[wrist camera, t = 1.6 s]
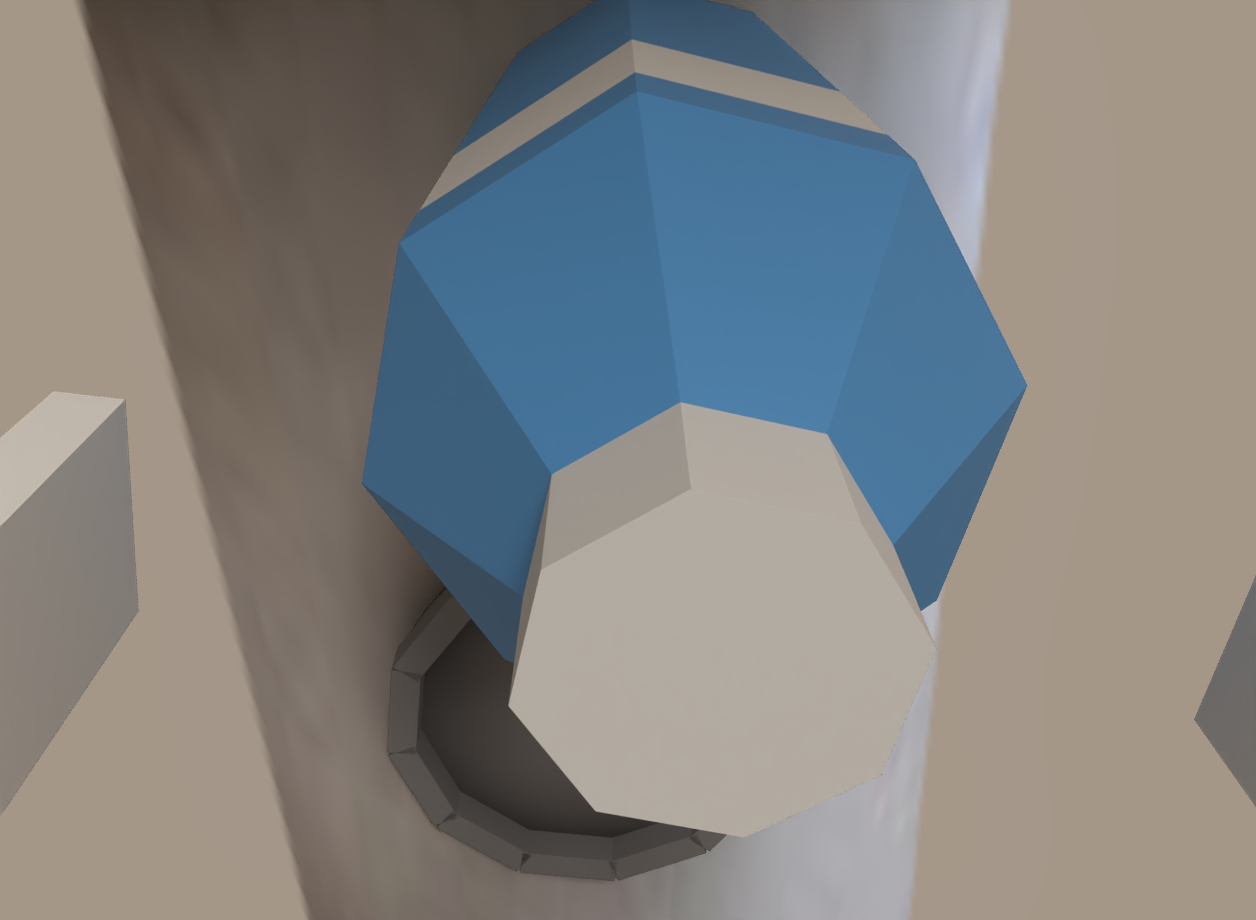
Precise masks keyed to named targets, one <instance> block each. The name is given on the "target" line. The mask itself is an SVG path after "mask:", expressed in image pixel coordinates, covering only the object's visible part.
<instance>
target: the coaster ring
mask: <svg viewBox="0 0 1256 920" xmlns="http://www.w3.org/2000/svg"><path fill="white" fill-rule="evenodd" d="M513 668H514V663H513V662H510V661H508V660H505V659H504V658H503V657H502V656H501V654H500V653H499V652H498V651H497V650H496V648H495V647H494V646H493V645H492V643H491V642H490V641H489V640H488V638H487V637H486V636H485V635H484V633H483V632H482V631H481V630H480V629H479V627H478V626H477V625H476V624H475V622H474V621H473V620H472V619H471V617H470V616H469V615H468V614H467V612H466V611H465V610H464V609H463V608H462V606H461V605H460V604H459V603H458V601H457V600H456V599H455V598H454V596H453V595H452V594H451V593H450V591H449V590H448V589H447V588H446V589H444V590H443V591H442V593H441V594H440V595H439V596H438V597H437V598H436V599H435V600H434V601H433V602H432V603H431V604H430V605H429V606H428V608H427V609H426V611H425V612H424V613H423V615H422V616H421V618H420V619H419V621H418V622H417V623H416V625H415V627H414V629H413V630H412V631H411V633H410V634H409V635H408V636H407V637H406V639H405V640H404V641H403V642H402V643H401V645H400V646H399V648H398V650H397V654H396V657H395V661H394V664H393V668H392V674H391V693H390V713H389V733H388V752H389V757H390V759H391V760H392V762H393V763H394V765H395V766H396V768H397V769H398V771H399V772H400V774H401V776H402V777H403V779H404V780H405V782H406V783H407V785H408V786H409V788H410V789H411V791H412V793H413V794H414V796H415V797H416V799H417V800H418V802H419V803H420V805H421V806H422V808H423V809H424V811H425V813H426V814H427V816H428V817H429V819H430V820H431V822H432V823H433V825H434V826H435V825H437V829H439V830H441V831H443V832H445V833H447V834H449V835H450V836H452V837H454V838H456V839H458V840H460V841H461V842H463V843H465V844H467V845H469V846H471V847H472V848H474V849H476V850H478V851H480V852H482V853H484V854H485V855H487V856H489V857H491V858H493V859H495V860H496V861H498V862H500V863H502V864H504V865H506V866H507V867H509V868H511V869H513V870H515V871H517V870H518V869H519V868H520V872H521V873H532V874H543V875H554V876H565V877H576V878H587V879H598V880H609V881H614V879H615V876H616V878H617V880H621V879H625V878H628V877H631V876H634V875H637V874H641V873H644V872H647V871H650V870H653V869H657V868H660V867H663V866H666V865H669V864H673V863H676V862H679V861H682V860H686V859H689V858H692V857H695V856H698V855H702V854H705V853H706V850H708V851H710V850H711V849H712V848H713V847H714V846H716V845H717V844H718V843H719V842H720V841H721V840H722V839H723V838H724V837H725V836H726V835H727V834H722V833H716V832H710V831H705V830H699V829H693V828H688V827H682V826H676V825H670V824H665V823H659V822H653V821H648V820H642V819H636V818H631V817H625V816H619V815H614V814H608V813H602V812H597V811H595V810H594V809H593V808H592V806H591V805H590V804H589V803H588V802H587V800H586V799H585V798H584V797H583V796H582V794H581V793H580V792H579V791H578V789H577V788H576V787H575V786H574V785H573V783H572V782H571V781H570V780H569V779H568V777H567V776H566V775H565V774H564V773H563V771H562V770H561V769H560V768H559V766H558V765H557V764H556V763H555V762H554V760H553V759H552V758H551V757H550V756H549V754H548V753H547V752H546V751H545V750H544V748H543V747H542V746H541V745H540V743H539V742H538V741H537V740H536V739H535V737H534V736H533V735H532V734H531V733H530V731H529V730H528V729H527V728H526V727H525V725H524V724H523V723H522V722H521V720H520V719H519V718H518V717H517V716H516V714H515V713H514V712H513V711H512V710H511V708H510V707H509V706H508V705H509V697H510V690H511V682H512V675H513Z"/></svg>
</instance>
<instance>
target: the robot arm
mask: <svg viewBox="0 0 1256 920" xmlns="http://www.w3.org/2000/svg"><path fill="white" fill-rule="evenodd" d="M136 581H137V579H136V563H135V547H134V531H133V515H132V500H131V483H130V467H129V451H128V435H127V419H126V404H125V399H117V398H108V397H100V396H91V395H81V394H74V393H64V392H56V391H53V392H52V393H51V394H50V395H48V396H47V397H46V398H45V399H44V400H43V401H42V402H40V403H39V404H38V405H37V406H36V407H35V408H34V409H32V411H30V412H29V413H28V414H27V415H26V416H24V417H23V418H22V419H21V420H20V421H19V422H18V423H16V424H15V425H14V426H13V427H12V428H11V429H10V430H8V431H7V432H6V433H5V434H4V435H3V436H1V437H0V816H1V814H2V813H3V812H4V810H5V808H6V807H7V806H8V804H9V803H10V801H11V800H12V798H13V797H14V795H15V794H16V792H17V791H18V789H19V788H20V786H21V785H22V783H23V782H24V780H25V779H26V777H27V776H28V774H29V773H30V771H31V770H32V769H33V767H34V766H35V764H36V762H37V761H38V760H39V758H40V757H41V755H42V754H43V752H44V751H45V749H46V748H47V746H48V745H49V743H50V742H51V740H52V739H53V737H54V736H55V734H56V733H57V731H58V730H59V728H60V727H61V725H62V724H63V722H64V721H65V719H66V718H67V717H68V715H69V713H70V712H71V711H72V709H73V708H74V706H75V705H76V703H77V702H78V700H79V699H80V697H81V696H82V694H83V693H84V691H85V690H86V688H87V687H88V685H89V684H90V682H91V681H92V679H93V678H94V676H95V675H96V673H97V672H98V670H99V669H100V667H101V666H102V665H103V663H104V661H105V660H106V658H107V657H108V656H109V654H110V653H111V651H112V650H113V648H114V647H115V645H116V644H117V642H118V641H119V639H120V637H121V636H122V635H123V633H124V632H125V630H126V629H127V627H128V626H129V624H130V622H131V621H132V620H133V618H134V617H135V615H136V614H137V612H138V596H137V582H136ZM1195 721H1196V723H1197V724H1198V726H1199V727H1200V728H1201V730H1202V731H1203V733H1204V734H1205V735H1206V737H1207V738H1208V740H1209V741H1210V742H1211V744H1212V745H1213V747H1214V748H1215V750H1216V751H1217V752H1218V754H1219V755H1220V757H1221V758H1222V760H1223V761H1224V762H1225V764H1226V765H1227V767H1228V768H1229V769H1230V771H1231V772H1232V774H1233V775H1234V776H1235V778H1236V779H1237V781H1238V782H1239V784H1240V785H1241V786H1242V788H1243V789H1244V791H1245V792H1246V794H1247V795H1248V796H1249V798H1250V799H1251V801H1252V802H1253V803H1254V805H1255V806H1256V577H1255V579H1254V581H1253V584H1252V586H1251V588H1250V591H1249V593H1248V595H1247V598H1246V600H1245V602H1244V605H1243V607H1242V609H1241V612H1240V614H1239V616H1238V619H1237V621H1236V623H1235V626H1234V628H1233V630H1232V633H1231V635H1230V637H1229V640H1228V642H1227V644H1226V647H1225V649H1224V651H1223V654H1222V656H1221V658H1220V661H1219V663H1218V666H1217V668H1216V670H1215V672H1214V675H1213V677H1212V679H1211V682H1210V684H1209V686H1208V689H1207V691H1206V694H1205V696H1204V698H1203V700H1202V703H1201V705H1200V708H1199V710H1198V712H1197V715H1196V717H1195Z"/></svg>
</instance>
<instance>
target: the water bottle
mask: <svg viewBox="0 0 1256 920" xmlns="http://www.w3.org/2000/svg"><path fill="white" fill-rule="evenodd" d="M1026 387H1027V384H1026V382H1025V380H1024V378H1023V376H1022V374H1021V372H1020V370H1019V368H1018V366H1017V364H1016V362H1015V360H1014V358H1013V356H1012V354H1011V352H1010V350H1009V348H1008V346H1007V344H1006V342H1005V340H1004V338H1003V336H1002V333H1001V331H1000V330H999V328H998V325H997V323H996V321H995V320H994V317H993V316H992V314H991V312H990V310H989V307H988V306H987V304H986V301H985V300H984V297H983V295H982V293H981V291H980V289H979V287H978V285H977V283H976V281H975V279H974V277H973V275H972V273H971V271H970V269H969V267H968V265H967V263H966V261H965V259H964V257H963V255H962V253H961V251H960V249H959V247H958V245H957V243H956V241H955V239H954V237H953V235H952V233H951V231H950V229H949V227H948V225H947V223H946V221H945V219H944V217H943V215H942V213H941V211H940V209H939V207H938V205H937V203H936V201H935V199H934V197H933V195H932V193H931V191H930V189H929V187H928V185H927V183H926V181H925V179H924V177H923V175H922V173H921V171H920V169H919V167H918V165H917V163H916V161H915V160H914V159H913V158H912V157H911V156H910V155H909V154H908V153H907V152H906V151H905V150H903V149H902V148H901V147H900V146H899V145H898V144H897V143H896V142H895V141H894V140H892V139H891V138H890V137H889V136H888V135H887V134H886V133H885V132H884V131H883V130H881V129H880V128H879V127H878V126H877V125H876V124H875V123H874V122H873V121H872V120H870V119H869V118H868V117H867V116H866V115H865V114H864V113H863V112H862V111H861V110H859V109H858V108H857V107H856V106H855V105H854V104H853V103H852V102H851V101H850V100H848V99H847V98H846V97H845V96H844V95H843V94H842V93H841V92H840V91H839V90H837V89H836V88H835V87H834V86H833V85H832V84H831V83H830V82H829V81H828V80H826V79H825V78H824V77H823V76H822V75H821V74H820V73H819V72H818V71H817V70H815V69H814V68H813V67H812V66H811V65H810V64H809V63H808V62H807V61H806V60H804V59H803V58H802V57H801V56H800V55H799V54H798V53H797V52H796V51H795V50H793V49H792V48H791V47H790V46H789V45H788V44H787V43H786V42H785V41H784V40H782V39H781V38H780V37H779V36H778V35H777V34H776V33H775V32H774V31H773V30H771V29H770V28H769V27H768V26H767V25H766V24H765V23H764V22H763V21H762V20H760V19H759V18H758V17H757V16H756V15H755V14H754V13H753V12H749V11H745V10H742V9H738V8H734V7H730V6H726V5H722V4H718V3H714V2H711V1H707V0H595V1H594V2H592V3H591V4H589V5H588V6H586V7H585V8H583V9H582V10H580V11H579V12H577V13H576V14H574V15H573V16H571V17H570V18H568V19H567V20H565V21H564V22H562V23H561V24H559V25H558V26H556V27H555V28H553V29H552V30H550V31H549V32H547V33H546V34H544V35H543V36H541V37H540V38H538V39H537V40H535V41H534V42H532V43H531V44H529V45H528V46H526V47H525V48H523V49H522V50H520V51H519V52H517V54H516V56H515V57H514V59H513V61H512V62H511V64H510V65H509V67H508V69H507V70H506V72H505V73H504V75H503V77H502V78H501V80H500V81H499V83H498V85H497V86H496V88H495V89H494V91H493V93H492V94H491V96H490V98H489V99H488V101H487V102H486V104H485V106H484V107H483V109H482V110H481V112H480V114H479V115H478V117H477V118H476V120H475V122H474V123H473V125H472V127H471V128H470V130H469V131H468V133H467V135H466V136H465V138H464V139H463V141H462V143H461V144H460V146H459V147H458V149H457V151H456V152H455V154H454V155H453V157H452V159H451V160H450V162H449V164H448V165H447V167H446V168H445V170H444V172H443V173H442V175H441V176H440V178H439V180H438V181H437V183H436V184H435V186H434V188H433V189H432V191H431V193H430V194H429V196H428V197H427V199H426V201H425V202H424V204H423V205H422V207H421V209H420V210H419V212H418V213H417V215H416V217H415V218H414V220H413V221H412V223H411V225H410V226H409V228H408V230H407V231H406V233H405V234H404V236H403V238H402V239H401V241H400V242H399V247H398V254H397V260H396V267H395V273H394V280H393V286H392V293H391V299H390V306H389V312H388V319H387V325H386V332H385V338H384V345H383V351H382V358H381V364H380V370H379V377H378V383H377V390H376V396H375V403H374V409H373V416H372V422H371V429H370V435H369V442H368V448H367V455H366V461H365V468H364V474H363V481H362V484H363V485H364V487H365V488H366V489H367V490H368V491H369V493H370V494H371V495H372V496H373V498H374V499H375V500H376V501H377V503H378V504H379V505H380V506H381V508H382V509H383V510H384V511H385V512H386V514H387V515H388V516H389V517H390V519H391V520H392V521H393V522H394V524H395V525H396V526H397V527H398V529H399V530H400V531H401V532H402V533H403V535H404V536H405V537H406V538H407V540H408V541H409V542H410V543H411V545H412V546H413V547H414V548H415V549H416V551H417V552H418V553H419V554H420V556H421V557H422V558H423V559H424V561H425V562H426V563H427V564H428V566H429V567H430V568H431V569H432V570H433V572H434V573H435V574H436V575H437V577H438V578H439V579H440V580H441V582H442V583H443V584H444V585H445V587H446V588H447V589H448V590H449V591H450V593H451V594H452V595H453V596H454V598H455V599H456V600H457V601H458V603H459V604H460V605H461V606H462V608H463V609H464V610H465V611H466V612H467V614H468V615H469V616H470V617H471V619H472V620H473V621H474V622H475V624H476V625H477V626H478V627H479V629H480V630H481V631H482V632H483V633H484V635H485V636H486V637H487V638H488V640H489V641H490V642H491V643H492V645H493V646H494V647H495V648H496V650H497V651H498V652H499V653H500V654H501V656H502V657H503V658H504V659H505V660H508V661H510V662H513V663H514V668H513V675H512V682H511V690H510V697H509V705H508V706H509V707H510V708H511V710H512V711H513V712H514V713H515V714H516V716H517V717H518V718H519V719H520V720H521V722H522V723H523V724H524V725H525V727H526V728H527V729H528V730H529V731H530V733H531V734H532V735H533V736H534V737H535V739H536V740H537V741H538V742H539V743H540V745H541V746H542V747H543V748H544V750H545V751H546V752H547V753H548V754H549V756H550V757H551V758H552V759H553V760H554V762H555V763H556V764H557V765H558V766H559V768H560V769H561V770H562V771H563V773H564V774H565V775H566V776H567V777H568V779H569V780H570V781H571V782H572V783H573V785H574V786H575V787H576V788H577V789H578V791H579V792H580V793H581V794H582V796H583V797H584V798H585V799H586V800H587V802H588V803H589V804H590V805H591V806H592V808H593V809H594V810H595V811H597V812H602V813H608V814H614V815H619V816H625V817H631V818H636V819H642V820H648V821H653V822H659V823H665V824H670V825H676V826H682V827H688V828H693V829H699V830H705V831H710V832H716V833H722V834H727V835H733V836H739V837H747V836H749V835H751V834H753V833H755V832H758V831H760V830H762V829H764V828H766V827H769V826H771V825H773V824H775V823H777V822H779V821H782V820H784V819H786V818H788V817H790V816H793V815H795V814H797V813H799V812H801V811H804V810H806V809H808V808H810V807H812V806H815V805H817V804H819V803H821V802H823V801H826V800H828V799H830V798H832V797H834V796H836V795H839V794H841V793H843V792H845V791H847V790H850V789H852V788H854V787H856V786H858V785H861V784H863V783H865V782H867V781H869V780H872V779H874V778H876V777H878V776H880V775H882V773H883V771H884V769H885V767H886V764H887V762H888V760H889V757H890V755H891V753H892V750H893V748H894V746H895V743H896V741H897V739H898V736H899V734H900V732H901V729H902V727H903V725H904V722H905V720H906V718H907V715H908V713H909V711H910V708H911V706H912V704H913V702H914V699H915V697H916V695H917V692H918V690H919V688H920V685H921V683H922V681H923V678H924V676H925V674H926V671H927V669H928V667H929V664H930V662H931V660H932V657H933V655H934V653H935V650H936V646H935V644H934V641H933V639H932V637H931V634H930V632H929V630H928V627H927V625H926V622H925V620H924V618H923V615H922V613H921V611H922V610H923V609H925V608H926V607H927V606H929V605H930V604H932V603H933V602H935V601H936V600H937V598H938V596H939V594H940V591H941V589H942V586H943V584H944V582H945V579H946V577H947V575H948V572H949V570H950V567H951V565H952V563H953V560H954V558H955V556H956V553H957V551H958V549H959V546H960V544H961V541H962V539H963V537H964V534H965V532H966V529H967V527H968V525H969V522H970V520H971V518H972V515H973V513H974V510H975V508H976V506H977V503H978V501H979V499H980V496H981V494H982V492H983V489H984V487H985V484H986V482H987V480H988V477H989V475H990V472H991V470H992V468H993V465H994V463H995V461H996V458H997V456H998V454H999V451H1000V449H1001V447H1002V444H1003V442H1004V439H1005V437H1006V435H1007V432H1008V430H1009V427H1010V425H1011V423H1012V420H1013V418H1014V416H1015V413H1016V411H1017V409H1018V406H1019V404H1020V401H1021V399H1022V397H1023V394H1024V392H1025V389H1026Z"/></svg>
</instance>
